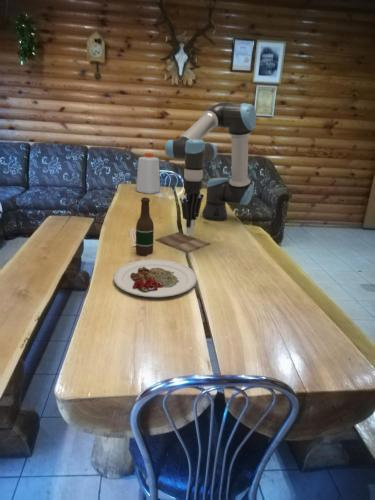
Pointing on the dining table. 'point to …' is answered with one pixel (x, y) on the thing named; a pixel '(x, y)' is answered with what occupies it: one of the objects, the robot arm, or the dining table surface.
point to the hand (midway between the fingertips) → (189, 233)
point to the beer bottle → (144, 230)
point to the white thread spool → (148, 174)
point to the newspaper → (132, 236)
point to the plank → (192, 245)
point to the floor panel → (175, 239)
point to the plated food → (155, 278)
